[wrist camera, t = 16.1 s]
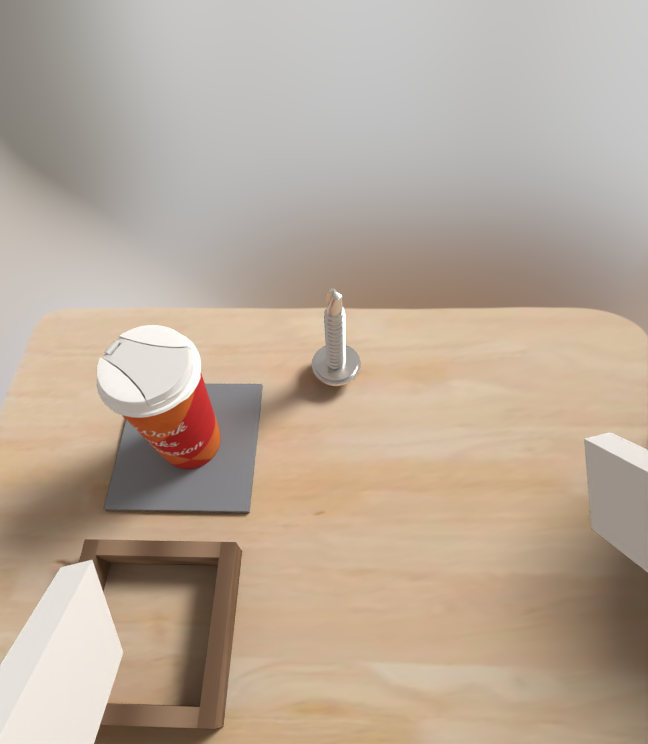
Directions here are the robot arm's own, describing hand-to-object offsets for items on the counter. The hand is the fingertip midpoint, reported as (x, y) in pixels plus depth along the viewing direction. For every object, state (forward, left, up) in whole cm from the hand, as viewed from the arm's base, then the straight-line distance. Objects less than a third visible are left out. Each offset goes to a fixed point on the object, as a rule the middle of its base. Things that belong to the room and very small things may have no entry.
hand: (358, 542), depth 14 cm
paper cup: (+15, -17, -31) cm, 39 cm away
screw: (+1, -25, -32) cm, 40 cm away
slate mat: (+15, -17, -32) cm, 39 cm away
